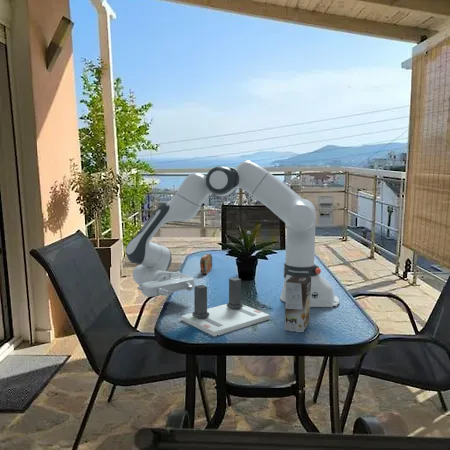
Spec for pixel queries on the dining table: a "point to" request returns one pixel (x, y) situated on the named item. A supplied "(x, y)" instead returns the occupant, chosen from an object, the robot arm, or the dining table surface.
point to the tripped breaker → (200, 302)
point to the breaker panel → (226, 319)
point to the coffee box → (297, 303)
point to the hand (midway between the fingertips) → (180, 290)
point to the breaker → (234, 293)
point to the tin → (206, 263)
